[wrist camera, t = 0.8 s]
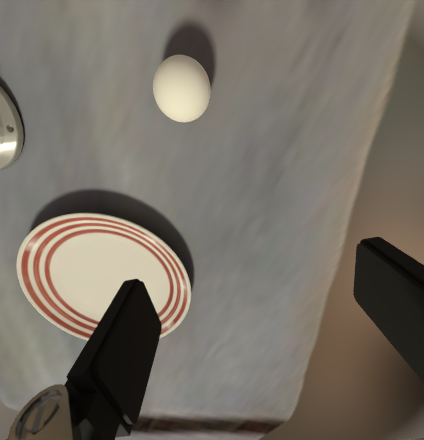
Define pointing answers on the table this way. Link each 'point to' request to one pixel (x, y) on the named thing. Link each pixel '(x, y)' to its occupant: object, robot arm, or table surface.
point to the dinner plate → (98, 270)
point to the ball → (181, 88)
